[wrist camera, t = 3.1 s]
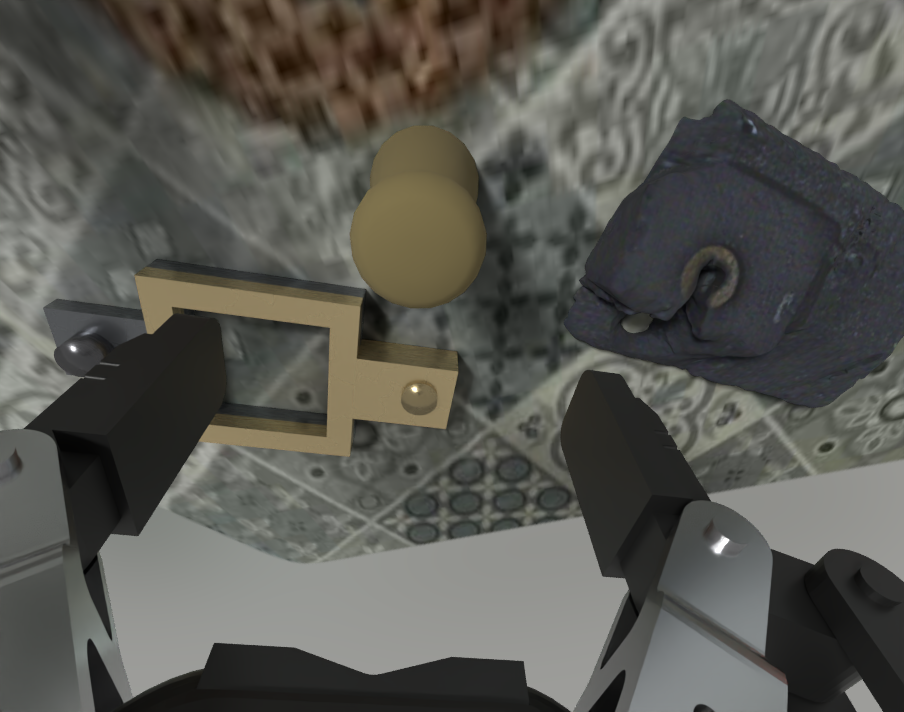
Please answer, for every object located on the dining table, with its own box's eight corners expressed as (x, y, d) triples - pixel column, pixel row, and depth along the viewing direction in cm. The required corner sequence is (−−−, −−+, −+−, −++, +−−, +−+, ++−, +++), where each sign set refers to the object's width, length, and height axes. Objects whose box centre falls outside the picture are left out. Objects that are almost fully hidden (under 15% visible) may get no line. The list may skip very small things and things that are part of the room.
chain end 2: (156, 259, 27) (130, 278, 25) (467, 303, 29) (469, 325, 27) (186, 415, 34) (167, 442, 32) (437, 442, 36) (437, 469, 34)
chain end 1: (38, 242, 26) (-1, 260, 24) (365, 289, 29) (359, 309, 26) (92, 405, 33) (66, 432, 31) (354, 433, 35) (348, 460, 33)
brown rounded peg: (489, 135, 24) (521, 184, 15) (468, 245, 27) (483, 341, 18) (373, 115, 23) (332, 153, 14) (366, 230, 27) (329, 321, 17)
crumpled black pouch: (782, 414, 36) (824, 459, 32) (541, 318, 31) (556, 357, 27) (969, 242, 28) (1055, 271, 24) (692, 74, 23) (745, 77, 19)
